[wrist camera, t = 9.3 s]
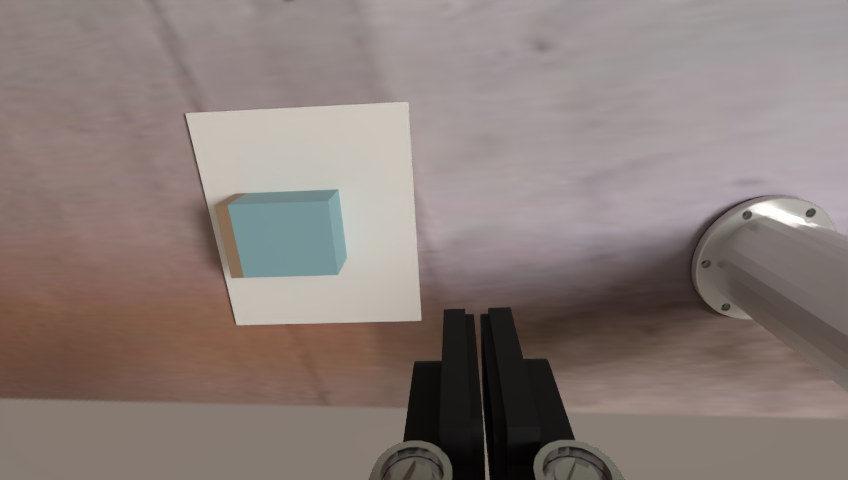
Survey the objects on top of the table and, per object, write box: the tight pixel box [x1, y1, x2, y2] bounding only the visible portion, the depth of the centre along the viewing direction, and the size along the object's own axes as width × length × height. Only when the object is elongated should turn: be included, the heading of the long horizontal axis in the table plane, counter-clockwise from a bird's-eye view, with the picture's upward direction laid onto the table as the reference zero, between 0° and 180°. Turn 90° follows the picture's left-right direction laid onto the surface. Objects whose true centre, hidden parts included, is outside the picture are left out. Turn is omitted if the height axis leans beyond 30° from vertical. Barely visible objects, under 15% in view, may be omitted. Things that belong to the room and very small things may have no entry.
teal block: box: [214, 189, 347, 278], centre depth 39 cm, size 4×7×10 cm
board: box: [185, 102, 421, 325], centre depth 41 cm, size 20×22×1 cm
